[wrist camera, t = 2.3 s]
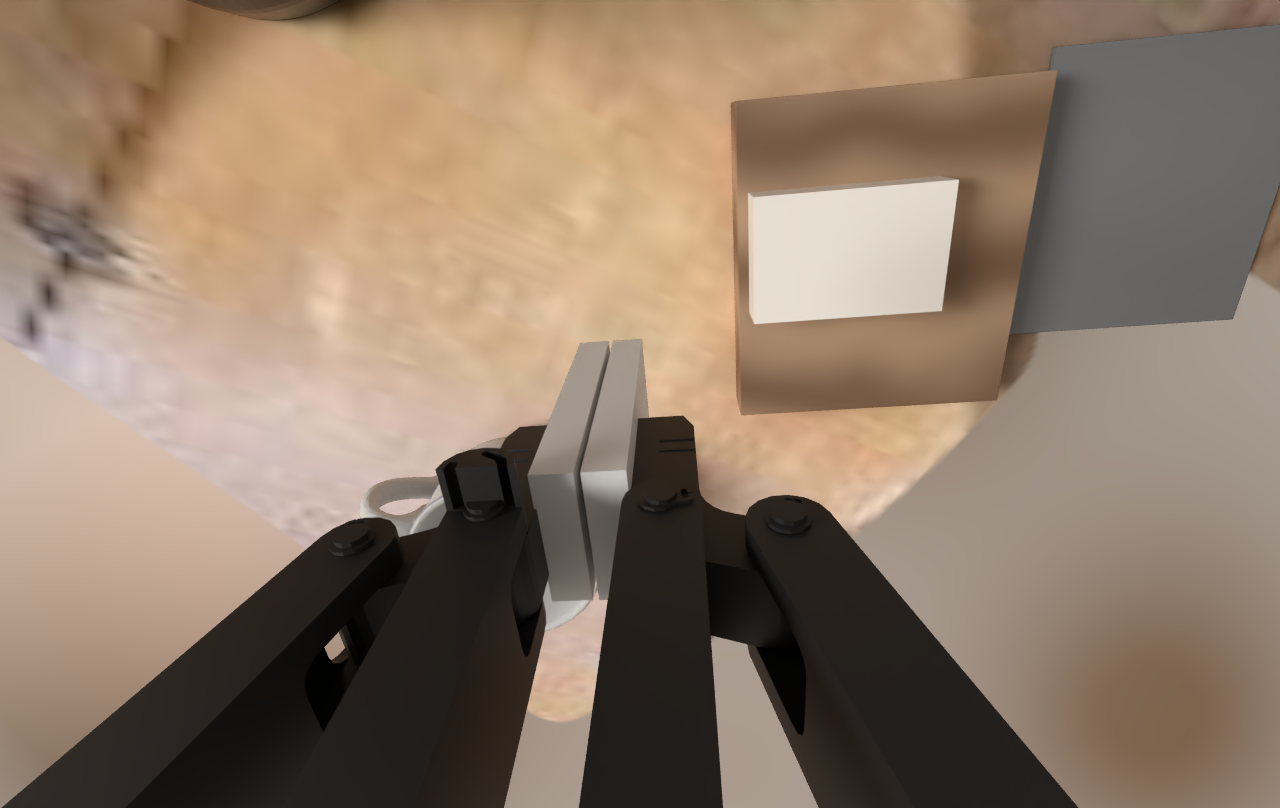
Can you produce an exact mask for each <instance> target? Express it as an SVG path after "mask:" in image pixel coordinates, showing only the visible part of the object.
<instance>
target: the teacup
mask: <svg viewBox="0 0 1280 808" xmlns="http://www.w3.org/2000/svg"><path fill="white" fill-rule="evenodd" d="M505 438H507V437H504V438H498V439H494V440H490V441H487V442H485V443H483V444H480V445H478V446H476V447H474V448H472V449H471V450H473V449H479V448H501V446H502V444H503V442H504V440H505ZM422 498H423V499H430V501H429V502H428V503H427V504H425V505H422V506H421V507H420V508H418V509H417V510H415V511H413V512H411V513H408V514H404V515H392V514H388V513H385V512H383V511H381V510H380V509H379V508H380V507H381V506H382V505H384V504H386V503H389V502H392V501H397V500H404V499H422ZM446 511H447V510H446V507H445V503H444V499H443V495H442V492H441V488H440V484H439V481H438V477H437V476H434V477H412V478H397V479H391V480H387V481H384V482H380V483H378V484H376V485H374V486H373V487H371V488H370V489H369V490H368V491H367V492H366V493H365V495H364V497H363V499H362V501H361V505H360V518H371V517H381V518H384V519H388V520H391V522H392V523H393V524H394V525H395V526H396V529H397V532H398V535H399V537H401V536H405V535H409V534H414V533H418V532H422V531H426V530H429V529H433V528H436V527H438V526H439V524H440V522H441V520H442V518H443V517H444V515H445V513H446ZM597 588H598V587H597V581H596V583H595V589H594V596H595V594H596V591H597ZM594 596H593V597H594ZM543 601H544V605H545V610H546V627H545V631H548V630H551V629H554V628H557V627H559V626H562V625H563V624H565V623H567V622H569V621H570V620H572V619H573V618H575V617H576V616H577V615H578V614H579V613H581V612H582V611H583V610H584V609H585V608H586V607H587V606H588V604H589V603H590V602H591V600H582V601H555V602H552V599H551V594H550V588H549V583H548V581H547V585H546V588H545V592H544V596H543Z"/></svg>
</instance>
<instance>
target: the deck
mask: <svg viewBox="0 0 1280 808" xmlns="http://www.w3.org/2000/svg"><path fill="white" fill-rule="evenodd" d="M1057 71H1058V70H1051V71H1041V72H1030V73H1020V74H1010V75H1000V76H990V77H979V78H969V79H959V80H949V81H939V82H928V83H918V84H908V85H898V86H888V87H877V88H867V89H857V90H847V91H836V92H826V93H816V94H806V95H796V96H785V97H775V98H765V99H755V100H745V101H736V102H733V103H731V133H732V184H733V234H734V285H735V335H736V386H737V400H738V404H739V408H740V412H741V415H754V414H771V413H788V412H805V411H822V410H839V409H856V408H873V407H890V406H907V405H924V404H941V403H958V402H975V401H992V400H997V397H998V392H999V387H1000V381H1001V376H1002V370H1003V365H1004V359H1005V354H1006V349H1007V343H1008V338H1009V332H1010V327H1011V321H1012V316H1013V310H1014V305H1015V300H1016V294H1017V289H1018V283H1019V278H1020V272H1021V267H1022V261H1023V256H1024V251H1025V245H1026V240H1027V234H1028V229H1029V223H1030V218H1031V213H1032V207H1033V202H1034V196H1035V191H1036V185H1037V180H1038V174H1039V169H1040V164H1041V158H1042V153H1043V147H1044V142H1045V136H1046V131H1047V126H1048V120H1049V115H1050V109H1051V104H1052V98H1053V93H1054V87H1055V82H1056V77H1057ZM935 176H943V177H948V178H953V179H959V184H958V191H957V199H956V207H955V214H954V222H953V229H952V237H951V245H950V252H949V260H948V267H947V275H946V283H945V290H944V298H943V305H942V311H936V312H921V313H907V314H893V315H878V316H864V317H850V318H836V319H821V320H807V321H793V322H778V323H764V324H754V322H753V320H752V318H751V316H750V313H749V232H748V193H750V192H762V191H773V190H785V189H796V188H808V187H820V186H831V185H843V184H854V183H866V182H877V181H889V180H901V179H912V178H924V177H935Z"/></svg>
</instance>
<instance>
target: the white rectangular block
mask: <svg viewBox="0 0 1280 808" xmlns="http://www.w3.org/2000/svg"><path fill="white" fill-rule="evenodd" d="M958 184H959V179H953V178H948V177H943V176H935V177H924V178H912V179H901V180H889V181H877V182H866V183H854V184H843V185H831V186H820V187H808V188H796V189H785V190H773V191H762V192H750V193H748V232H749V313H750V316H751V318H752V320H753V322H754V324H764V323H778V322H793V321H807V320H821V319H836V318H850V317H864V316H878V315H893V314H907V313H921V312H936V311H942V305H943V298H944V290H945V283H946V275H947V267H948V260H949V252H950V245H951V237H952V229H953V222H954V214H955V207H956V199H957V191H958Z"/></svg>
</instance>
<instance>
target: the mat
mask: <svg viewBox="0 0 1280 808" xmlns="http://www.w3.org/2000/svg"><path fill="white" fill-rule="evenodd" d="M1051 70H1058V71H1057V77H1056V82H1055V87H1054V93H1053V98H1052V104H1051V109H1050V115H1049V120H1048V126H1047V131H1046V136H1045V142H1044V147H1043V153H1042V158H1041V164H1040V169H1039V174H1038V180H1037V185H1036V191H1035V196H1034V202H1033V207H1032V213H1031V218H1030V223H1029V229H1028V234H1027V240H1026V245H1025V251H1024V256H1023V261H1022V267H1021V272H1020V278H1019V283H1018V289H1017V294H1016V300H1015V305H1014V310H1013V316H1012V321H1011V327H1010V332H1009V334H1019V333H1034V332H1049V331H1063V330H1079V329H1094V328H1109V327H1123V326H1139V325H1153V324H1168V323H1183V322H1199V321H1212V320H1213V321H1214V320H1229V319H1233V317H1234V314H1235V311H1236V308H1237V305H1238V303H1239V300H1240V297H1241V294H1242V291H1243V288H1244V285H1245V282H1246V279H1247V277H1248V274H1249V271H1250V268H1251V265H1252V262H1253V259H1254V256H1255V254H1256V251H1257V248H1258V245H1259V242H1260V239H1261V236H1262V233H1263V230H1264V228H1265V225H1266V222H1267V219H1268V216H1269V213H1270V210H1271V207H1272V204H1273V202H1274V199H1275V196H1276V193H1277V190H1278V187H1279V184H1280V25H1270V26H1260V27H1251V28H1241V29H1231V30H1221V31H1211V32H1201V33H1191V34H1181V35H1171V36H1161V37H1151V38H1141V39H1131V40H1121V41H1111V42H1102V43H1092V44H1082V45H1072V46H1062V47H1054V48H1053V50H1052V55H1051V61H1050V67H1049V71H1051Z"/></svg>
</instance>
